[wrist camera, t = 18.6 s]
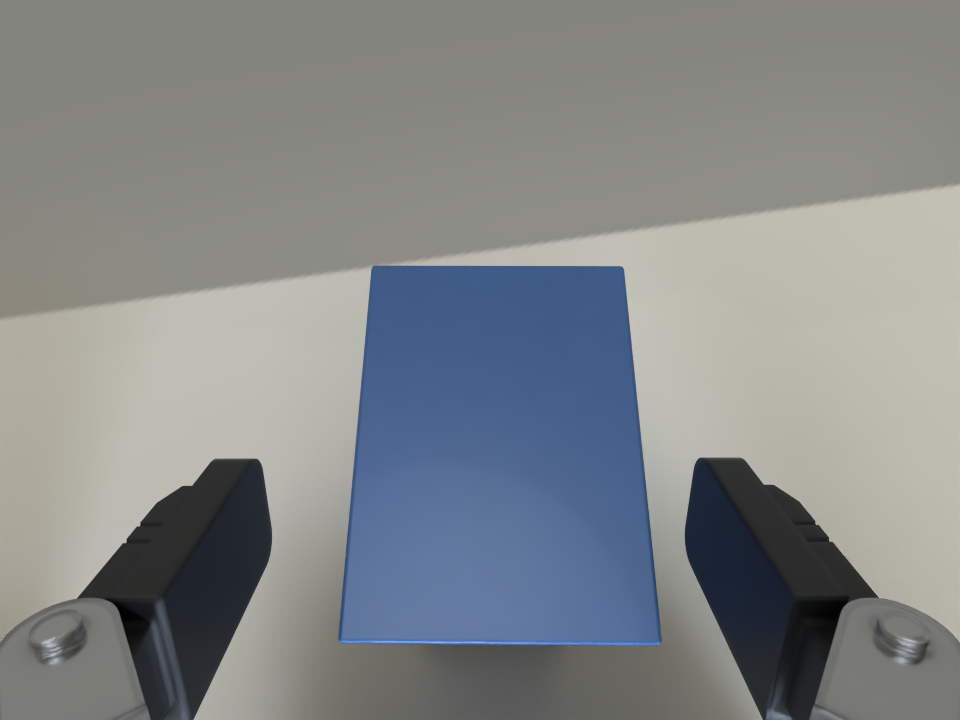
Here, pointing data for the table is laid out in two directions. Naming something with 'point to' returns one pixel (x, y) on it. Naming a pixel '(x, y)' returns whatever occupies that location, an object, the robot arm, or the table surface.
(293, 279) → the table surface
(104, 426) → the table surface
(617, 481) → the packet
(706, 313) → the table surface
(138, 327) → the table surface
